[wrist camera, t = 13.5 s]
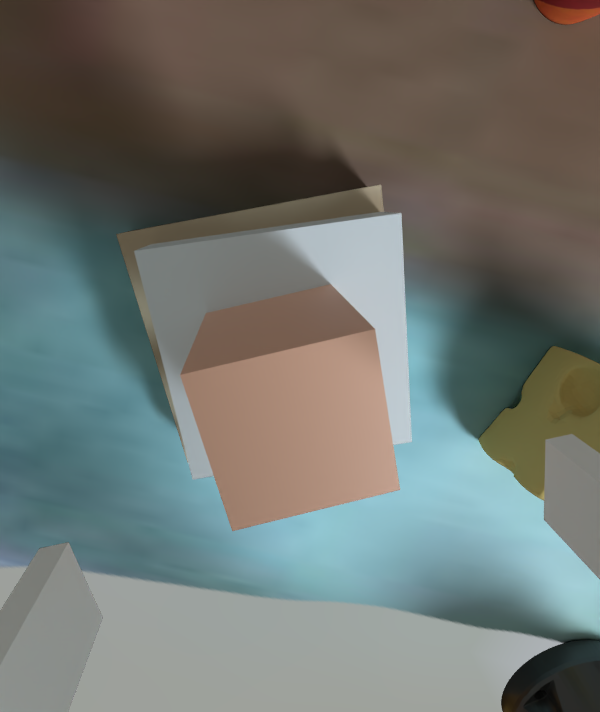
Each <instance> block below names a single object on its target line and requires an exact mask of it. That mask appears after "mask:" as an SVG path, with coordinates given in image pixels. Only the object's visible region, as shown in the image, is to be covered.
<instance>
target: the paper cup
mask: <svg viewBox="0 0 600 712" xmlns="http://www.w3.org/2000/svg"><path fill="white" fill-rule="evenodd" d="M534 2H535V4H536V6H537V8H538V9H539V11H540V12H541V13H542V14H543V15H544V16H545V17H546V18H547V19H549V20H550V21H552V22H554V23H558V24H564V25H567V24H574V23H578V22H581V21H584V20H586V19H589V18H591V17H593V16H596V15H598V14H600V0H534Z"/></svg>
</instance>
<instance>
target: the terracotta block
mask: <svg viewBox="0 0 600 712" xmlns="http://www.w3.org/2000/svg"><path fill="white" fill-rule="evenodd" d="M180 377H181V380H182V383H183V386H184V389H185V392H186V394H187V397H188V400H189V403H190V406H191V409H192V412H193V415H194V418H195V421H196V424H197V427H198V430H199V433H200V436H201V439H202V442H203V445H204V448H205V451H206V454H207V457H208V460H209V463H210V466H211V469H212V472H213V475H214V478H215V481H216V484H217V487H218V490H219V493H220V496H221V499H222V501H223V504H224V507H225V510H226V513H227V516H228V519H229V522H230V525H231V528H232V531H235V530H239V529H243V528H247V527H251V526H255V525H259V524H263V523H267V522H271V521H275V520H279V519H283V518H287V517H291V516H295V515H300V514H304V513H308V512H312V511H316V510H320V509H324V508H328V507H332V506H336V505H340V504H344V503H348V502H352V501H356V500H360V499H364V498H369V497H373V496H377V495H381V494H385V493H389V492H393V491H397V490H400V486H399V480H398V473H397V467H396V460H395V454H394V447H393V441H392V434H391V428H390V422H389V415H388V409H387V402H386V396H385V389H384V383H383V376H382V370H381V364H380V357H379V351H378V344H377V338H376V331H375V328H374V327H373V326H372V325H371V324H370V323H369V322H368V321H367V320H366V319H365V318H364V317H363V316H362V315H361V314H360V313H359V312H358V311H357V310H356V309H355V308H354V307H353V306H352V305H351V304H350V303H349V302H348V301H347V300H346V299H345V298H344V297H343V296H342V295H341V294H340V293H339V292H338V291H337V290H336V289H335V288H334V287H333V286H332V285H331V284H329V285H325V286H321V287H316V288H312V289H308V290H304V291H299V292H295V293H291V294H286V295H282V296H278V297H273V298H269V299H265V300H260V301H256V302H252V303H247V304H243V305H239V306H234V307H230V308H226V309H222V310H217V311H213V312H209V313H206V314H205V316H204V319H203V321H202V323H201V326H200V328H199V331H198V333H197V335H196V338H195V340H194V343H193V345H192V347H191V350H190V352H189V355H188V357H187V359H186V362H185V364H184V366H183V369H182V371H181V374H180Z"/></svg>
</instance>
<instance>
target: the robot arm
mask: <svg viewBox="0 0 600 712" xmlns="http://www.w3.org/2000/svg"><path fill="white" fill-rule="evenodd" d="M544 520H545V521H546V522H547V523H548V524H549V526H550V527H551V528H552V529H553V530H554V531H555V532H556V533H557V534H558V535H559V536H560V537H561V538H562V539H563V541H564V542H565V543H566V544H567V545H568V546H569V547H570V548H571V549H572V550H573V551H574V552H575V553H576V555H577V556H578V557H579V558H580V559H581V560H582V561H583V562H584V563H585V564H586V565H587V566H588V567H589V568H590V570H591V571H592V572H593V573H594V574H595V575H596V576H597V577H598V578H599V579H600V453H598V452H597V451H596V450H594V449H593V448H591V447H590V446H588V445H587V444H586V443H584V442H583V441H581V440H580V439H579V438H577V437H576V436H574V435H573V434H569V435H564V436H560V437H555V438H550V439H546V440H545V488H544ZM102 619H103V617H102V615H101V612H100V610H99V608H98V606H97V604H96V601H95V599H94V597H93V595H92V593H91V591H90V588H89V586H88V584H87V582H86V580H85V577H84V575H83V573H82V571H81V569H80V566H79V564H78V562H77V560H76V558H75V555H74V553H73V551H72V549H71V547H70V544H69V542H67V543H62V544H58V545H53V546H49V547H44V548H39V550H38V551H37V553H36V555H35V556H34V558H33V559H32V561H31V563H30V564H29V566H28V567H27V569H26V570H25V572H24V574H23V575H22V577H21V579H20V580H19V582H18V583H17V585H16V586H15V588H14V590H13V591H12V593H11V594H10V596H9V597H8V599H7V601H6V602H5V604H4V605H3V607H2V609H1V610H0V712H68V710H69V708H70V705H71V703H72V700H73V697H74V695H75V692H76V689H77V686H78V684H79V681H80V678H81V676H82V673H83V670H84V668H85V665H86V662H87V659H88V657H89V654H90V651H91V648H92V646H93V643H94V640H95V638H96V635H97V632H98V630H99V627H100V624H101V621H102ZM501 705H502V711H503V712H600V641H596V640H580V641H572V642H568V643H564V644H560V645H557V646H555V647H552V648H550V649H548V650H546V651H543V652H541V653H540V654H538V655H536V656H534V657H533V658H531V659H530V660H529V661H527V662H526V663H525V664H524V665H522V666H521V667H520V668H519V669H518V670H517V671H516V672H515V673H514V675H513V676H512V677H511V679H510V680H509V681H508V683H507V685H506V687H505V689H504V691H503V695H502V700H501Z"/></svg>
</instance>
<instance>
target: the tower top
mask: <svg viewBox="0 0 600 712" xmlns="http://www.w3.org/2000/svg"><path fill="white" fill-rule="evenodd" d="M134 253H135V257H136V261H137V265H138V269H139V273H140V276H141V280H142V284H143V288H144V292H145V296H146V300H147V304H148V307H149V311H150V315H151V319H152V323H153V327H154V331H155V335H156V339H157V342H158V346H159V350H160V354H161V358H162V362H163V366H164V370H165V374H166V377H167V381H168V385H169V389H170V393H171V397H172V401H173V405H174V409H175V412H176V416H177V420H178V424H179V428H180V432H181V436H182V440H183V444H184V447H185V451H186V455H187V459H188V463H189V467H190V471H191V475H192V479H199V478H205V477H211V476H214V475H213V472H212V469H211V466H210V463H209V460H208V457H207V454H206V451H205V448H204V445H203V442H202V439H201V436H200V433H199V430H198V427H197V424H196V421H195V418H194V415H193V412H192V409H191V406H190V403H189V400H188V397H187V394H186V392H185V389H184V386H183V383H182V380H181V377H180V374H181V371H182V369H183V366H184V364H185V362H186V359H187V357H188V355H189V352H190V350H191V347H192V345H193V343H194V340H195V338H196V335H197V333H198V331H199V328H200V326H201V323H202V321H203V319H204V316H205V314H206V313H209V312H213V311H217V310H222V309H226V308H230V307H234V306H239V305H243V304H247V303H252V302H256V301H260V300H265V299H269V298H273V297H278V296H282V295H286V294H291V293H295V292H299V291H304V290H308V289H312V288H316V287H321V286H325V285H329V284H331V285H332V286H333V287H334V288H335V289H336V290H337V291H338V292H339V293H340V294H341V295H342V296H343V297H344V298H345V299H346V300H347V301H348V302H349V303H350V304H351V305H352V306H353V307H354V308H355V309H356V310H357V311H358V312H359V313H360V314H361V315H362V316H363V317H364V318H365V319H366V320H367V321H368V322H369V323H370V324H371V325H372V326H373V327H374V328H375V331H376V338H377V344H378V351H379V357H380V364H381V370H382V376H383V383H384V389H385V396H386V402H387V409H388V415H389V422H390V428H391V434H392V441H393V445H396V444H402V443H408V442H412V437H411V415H410V393H409V371H408V349H407V327H406V305H405V283H404V261H403V239H402V217H401V213H392V212H375V213H368V214H361V215H354V216H347V217H340V218H332V219H325V220H318V221H311V222H304V223H297V224H290V225H283V226H276V227H269V228H262V229H255V230H248V231H241V232H233V233H226V234H219V235H212V236H205V237H198V238H191V239H184V240H177V241H170V242H163V243H156V244H150V245H148V246H145V247H143V248H140V249H138V250H135V251H134Z"/></svg>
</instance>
